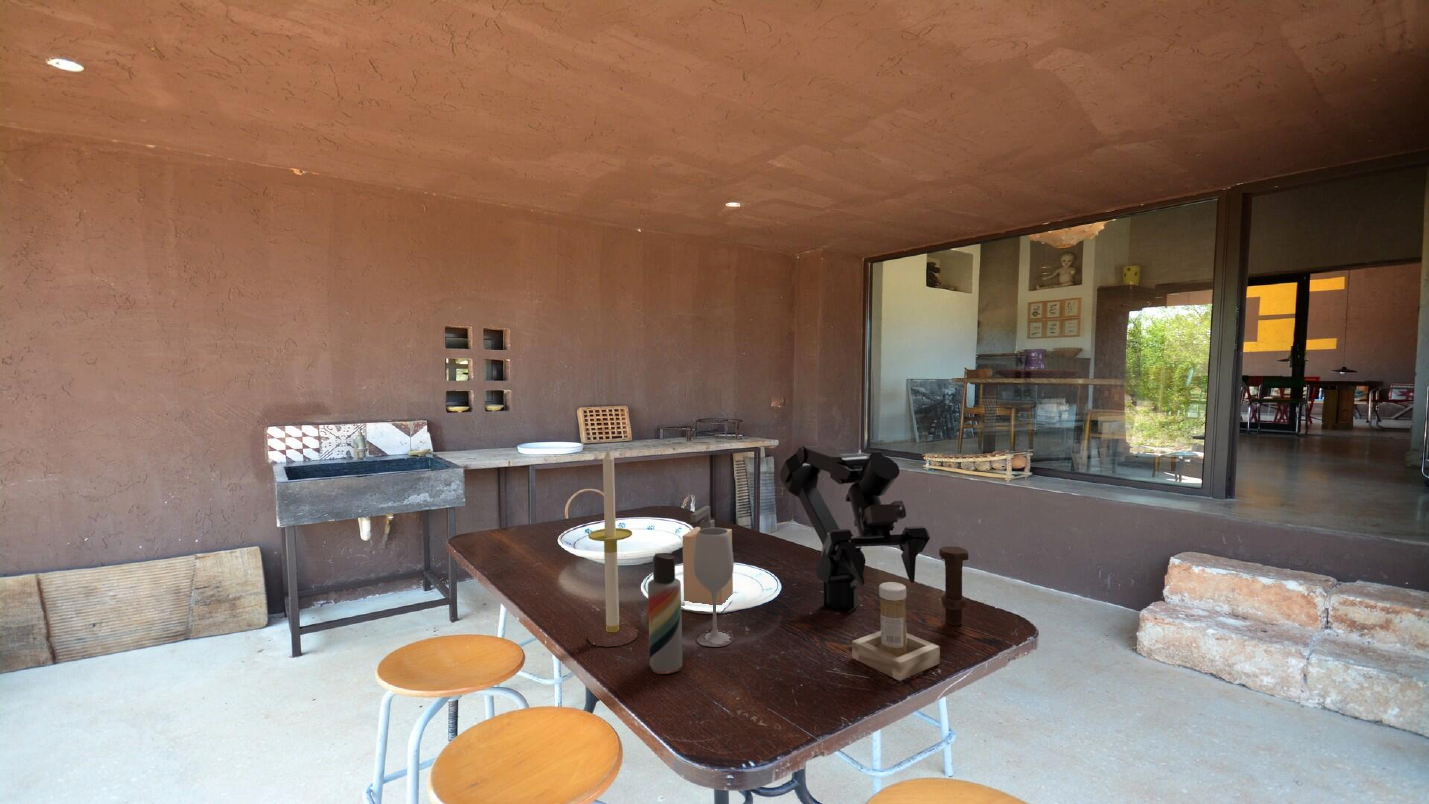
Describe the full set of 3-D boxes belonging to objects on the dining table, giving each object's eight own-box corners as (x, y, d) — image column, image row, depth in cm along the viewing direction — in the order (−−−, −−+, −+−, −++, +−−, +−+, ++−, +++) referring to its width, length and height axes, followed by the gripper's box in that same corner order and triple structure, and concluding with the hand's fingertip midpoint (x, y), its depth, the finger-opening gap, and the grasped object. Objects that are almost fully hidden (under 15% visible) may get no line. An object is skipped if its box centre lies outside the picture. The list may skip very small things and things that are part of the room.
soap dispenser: (697, 596, 143) (695, 501, 143) (733, 600, 141) (731, 503, 140) (676, 617, 131) (673, 513, 131) (714, 621, 129) (712, 515, 128)
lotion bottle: (650, 661, 111) (647, 550, 110) (682, 659, 112) (679, 548, 111) (649, 676, 106) (646, 559, 105) (683, 674, 106) (680, 558, 105)
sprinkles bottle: (911, 659, 110) (909, 583, 110) (902, 669, 106) (901, 591, 106) (885, 653, 113) (884, 579, 112) (876, 662, 109) (875, 586, 109)
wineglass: (739, 634, 122) (737, 527, 121) (727, 650, 115) (725, 537, 114) (703, 629, 125) (701, 525, 124) (689, 645, 117) (687, 535, 117)
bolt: (970, 630, 122) (969, 554, 121) (942, 628, 123) (942, 553, 122) (964, 618, 128) (964, 546, 127) (938, 617, 129) (938, 545, 128)
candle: (576, 637, 122) (571, 446, 120) (617, 622, 129) (612, 441, 128) (608, 652, 115) (602, 450, 114) (649, 635, 122) (644, 445, 121)
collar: (899, 680, 102) (899, 663, 102) (852, 657, 111) (852, 641, 111) (939, 663, 108) (939, 646, 108) (891, 642, 117) (891, 626, 117)
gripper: (828, 487, 116) (846, 563, 106) (925, 484, 118) (952, 559, 107) (818, 519, 124) (833, 593, 114) (909, 516, 126) (933, 588, 115)
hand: (888, 583), depth 112 cm, fingers open, 9 cm apart
